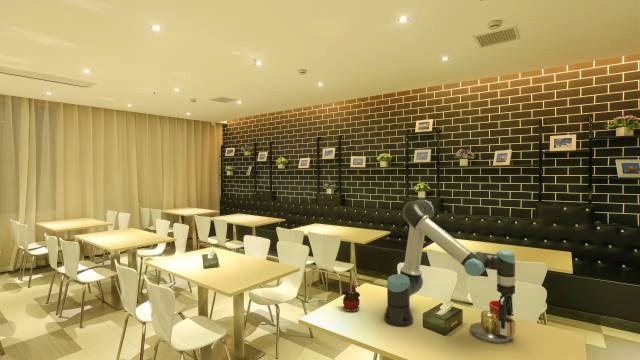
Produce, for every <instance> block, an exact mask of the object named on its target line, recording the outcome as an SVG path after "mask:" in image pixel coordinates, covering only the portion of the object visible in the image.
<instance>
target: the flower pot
mask: <svg viewBox="0 0 640 360" xmlns="http://www.w3.org/2000/svg"><path fill="white" fill-rule="evenodd" d="M488 305H489V311H491V312H495V314H497V318H499V300H491V301H489V302H488Z"/></svg>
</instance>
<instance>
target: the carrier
mask: <svg viewBox="0 0 640 360" xmlns="http://www.w3.org/2000/svg"><path fill="white" fill-rule="evenodd" d="M469 333H470V334H471V335H472V336H473V337H474V338H476V339H478V340H480V341H483V342H486V343H491V344H506V343H509V342H510V341H511V340H512V336H509V335H508V336H505V335H501V334H500V333H499V332H498V331H497V314H495V312H491V311H490V310H487V309H486V310H484V309H483V310H482V311H480V322H476V323H472V324H471V325H470V326H469Z"/></svg>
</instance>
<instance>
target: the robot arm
mask: <svg viewBox="0 0 640 360" xmlns="http://www.w3.org/2000/svg"><path fill="white" fill-rule="evenodd" d="M434 213H435V209H434V206H433V205H432V203H431V202H430V201H429V200H426V199H417V200H413V201H409V202H406V204H404V206H403V208H402V216H403V219H404V220H405V221H406V222H407V224H408V225H409V230H408V236H407V243H406V249H405V250H406V251H405V257H404V262H403V263H404V264H403V266H401V267H400V271H399V273H395V274H392V275H390V276H388V278H387V281H386V282H387V283H386V289H387V291H386V295H387V299H386V300H387V301H386V302H387V304H386V308H385V312H384V315H383V318H384V319H383V320H384V322H385V321H386V322H385V323H386V324H388V325H392V326H395V327H400V328H401V327H402V328H403V327H409V326H411V325H412V324H414V316H413V313H412V310H411V307H410V305H411V304H410V300H411V299H410V297H411V296H413V295H414V294H416V293H418V292H419V291H420V290H421V289H422V288H423V285H424V280H423V277H422V273H423V272H422V270H421V269H420V268H421V261H422V257H423V256H422V255H423V248H424V242H425V237H428V238H429V239H430V240H431V241H433V242H434V244H435V245H437V246H438V247H439V248H440V249H442V250H443V251H444V252H446V253H447V254H448V255H449V256H450V257H452V258H453V259H454V260H456V261H457V262H458V263H459V264H460V265H461V266H463V268H464V270H465V273H466V274H467V275H469V276H471V277H478V276H481V274H483V273H484V272H485V271H486V270H493V271H496V282H497V283H496V291H497V292H498V293H500V294H501V295H500V296H499V299H498V301H499V319H498V320H499V321H500V334H501V335H505V336H507V321H506V318H511V319H513V318H512V317H514V313H513V312H514V310H513V308H514V307H513V306H514V305H513V303H514V302H513V295H514V294H515V293H516V281H517V278H516V258H515V257H516V255H515V253H514V252H513V251H510V250H505V249H504V250H501V249H499V250H497V251H496V253H488V252H483V251H482V252H481V251H471V250H470V249H468V248H467V247H466V246H464V245H463V244H462V243H460V242H459V241H458V240H457V239H456V238H454V237H453V236H452V235H451V234H449V233H448V232H447V231H445V230H444V229H443V228H441V227H440V225H438V224H436V223H435V222H434V221H433V220H431V219H432V218H433V217H434ZM408 325H409V326H408Z"/></svg>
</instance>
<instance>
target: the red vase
mask: <svg viewBox="0 0 640 360" xmlns="http://www.w3.org/2000/svg"><path fill="white" fill-rule="evenodd" d="M349 281H350V282H349V283H350V285H349V288H348V289H343V290H342V294H343V295H344V296H343V298H342V304H343V306H342V309H343V308H344V309H345V310H344V309H343V310H344V311H345V312H349V311H350V312H351V311H353V312H358V311H359V310H360V305H361V304H360V298H359V297H361V294H360V293H359V291H357V289H356V288H357V287H358V286H359V284H358V283H353V279H352V278H350V279H349ZM356 310H357V311H356Z"/></svg>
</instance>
